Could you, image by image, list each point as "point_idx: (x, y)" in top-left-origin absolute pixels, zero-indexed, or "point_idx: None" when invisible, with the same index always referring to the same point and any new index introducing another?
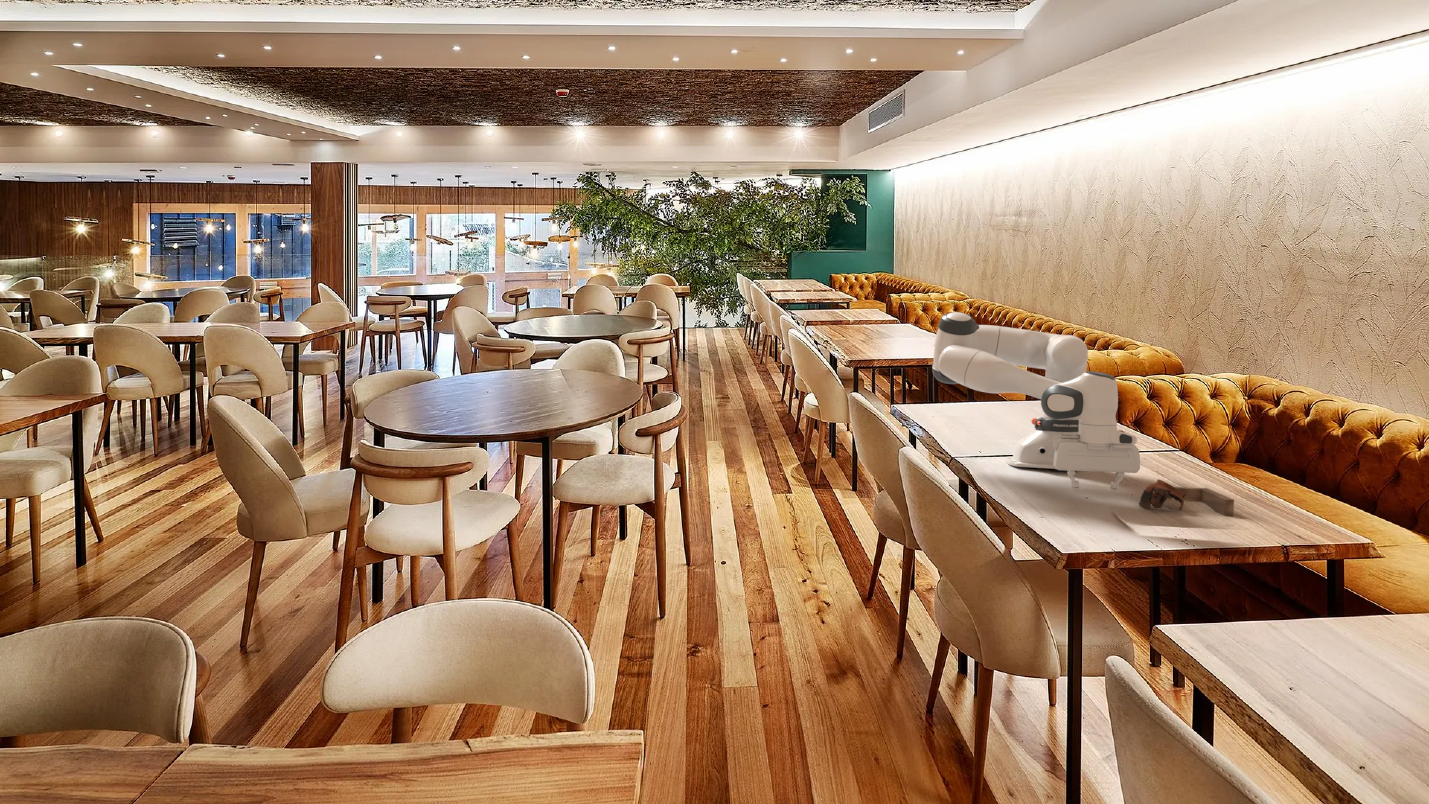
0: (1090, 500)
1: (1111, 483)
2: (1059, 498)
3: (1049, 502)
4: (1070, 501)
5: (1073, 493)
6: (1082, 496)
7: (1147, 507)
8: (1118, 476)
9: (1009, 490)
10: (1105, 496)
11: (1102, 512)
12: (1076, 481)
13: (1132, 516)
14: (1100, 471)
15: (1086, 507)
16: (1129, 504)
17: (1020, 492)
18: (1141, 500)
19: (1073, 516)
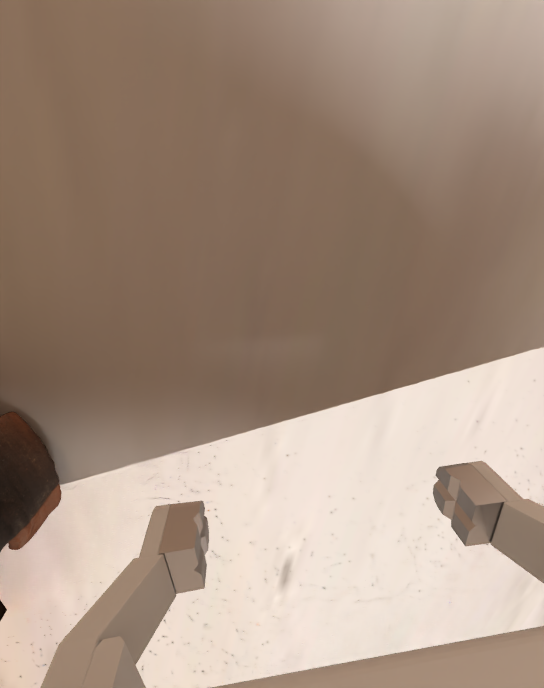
0: (281, 535)
1: (201, 562)
2: (403, 528)
3: (483, 437)
4: (377, 488)
5: (316, 622)
6: (295, 590)
7: (7, 420)
8: (121, 639)
9: (533, 589)
10: (203, 618)
11: (289, 258)
12: (494, 510)
13: (109, 170)
14: (352, 663)
15: (343, 378)
16: (113, 516)
17: (510, 573)
18: (28, 487)
19: (531, 31)
